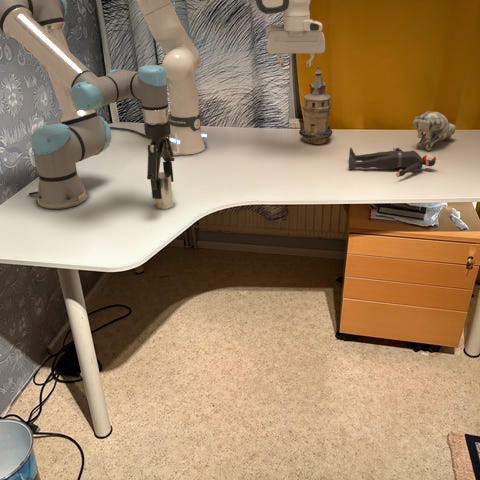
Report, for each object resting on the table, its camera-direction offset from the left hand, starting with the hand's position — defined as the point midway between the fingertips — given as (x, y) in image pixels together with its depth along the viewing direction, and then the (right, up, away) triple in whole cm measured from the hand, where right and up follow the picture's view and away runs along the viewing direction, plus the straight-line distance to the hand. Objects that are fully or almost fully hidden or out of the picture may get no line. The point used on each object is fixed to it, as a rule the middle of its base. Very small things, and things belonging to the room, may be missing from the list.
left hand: (163, 189), depth 166 cm
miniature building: (+55, +25, +55) cm, 82 cm away
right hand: (+43, +46, +23) cm, 67 cm away
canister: (0, -5, +3) cm, 5 cm away
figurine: (+100, +22, +47) cm, 113 cm away
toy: (+78, +10, +27) cm, 83 cm away
